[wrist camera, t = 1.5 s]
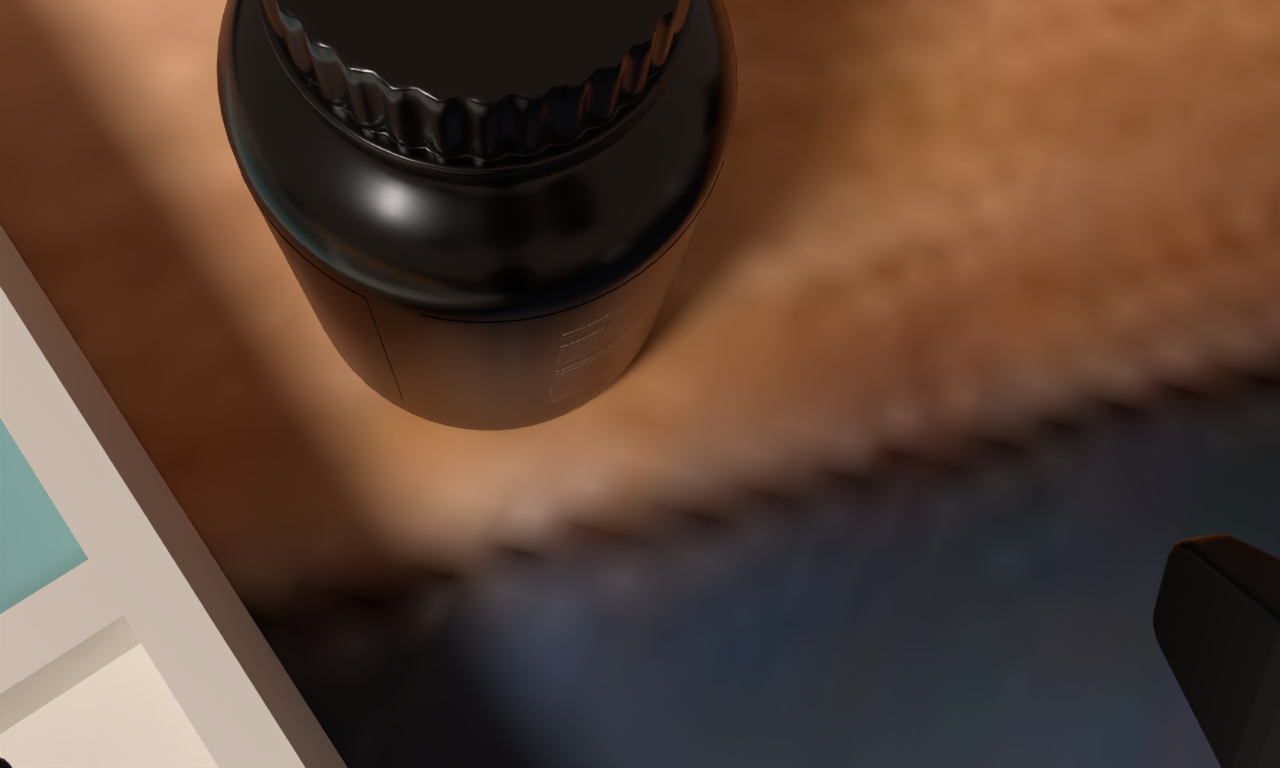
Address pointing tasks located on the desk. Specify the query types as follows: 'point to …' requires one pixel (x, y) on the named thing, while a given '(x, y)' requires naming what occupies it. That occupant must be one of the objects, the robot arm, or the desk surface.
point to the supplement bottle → (481, 182)
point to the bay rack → (116, 586)
